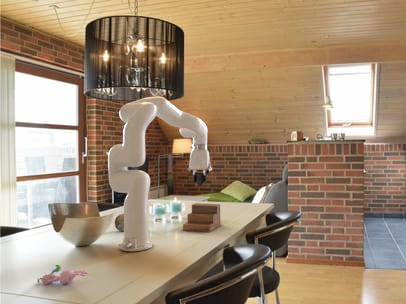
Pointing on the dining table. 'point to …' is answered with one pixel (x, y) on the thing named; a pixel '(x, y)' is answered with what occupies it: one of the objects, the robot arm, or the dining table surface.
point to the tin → (119, 222)
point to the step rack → (203, 218)
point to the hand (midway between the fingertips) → (200, 182)
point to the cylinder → (199, 179)
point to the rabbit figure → (61, 276)
